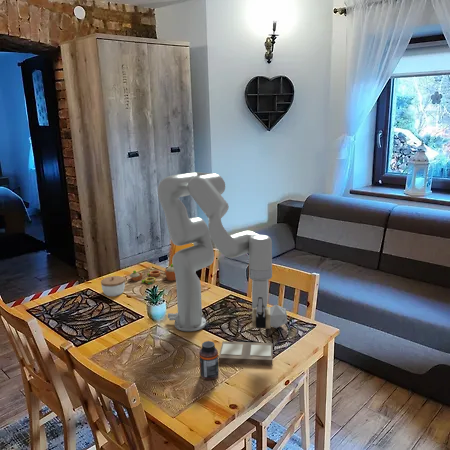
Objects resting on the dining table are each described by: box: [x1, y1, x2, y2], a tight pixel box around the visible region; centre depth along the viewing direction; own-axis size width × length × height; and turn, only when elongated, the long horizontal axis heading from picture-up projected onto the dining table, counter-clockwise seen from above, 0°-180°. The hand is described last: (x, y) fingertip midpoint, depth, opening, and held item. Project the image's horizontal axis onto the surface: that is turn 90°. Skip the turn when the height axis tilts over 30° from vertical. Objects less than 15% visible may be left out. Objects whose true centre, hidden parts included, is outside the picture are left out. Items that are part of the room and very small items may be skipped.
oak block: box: [251, 306, 271, 330], centre depth 148 cm, size 6×6×5 cm
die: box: [269, 304, 288, 329], centre depth 170 cm, size 8×9×10 cm
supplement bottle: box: [198, 340, 220, 381], centre depth 140 cm, size 6×6×11 cm
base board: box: [218, 340, 274, 366], centre depth 152 cm, size 18×11×2 cm, turn 83°
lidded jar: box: [100, 275, 126, 297], centre depth 205 cm, size 11×11×9 cm
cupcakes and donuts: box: [129, 263, 176, 285], centre depth 222 cm, size 26×16×10 cm, turn 114°
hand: (261, 322), depth 148 cm, fingers closed on oak block, 6 cm apart
